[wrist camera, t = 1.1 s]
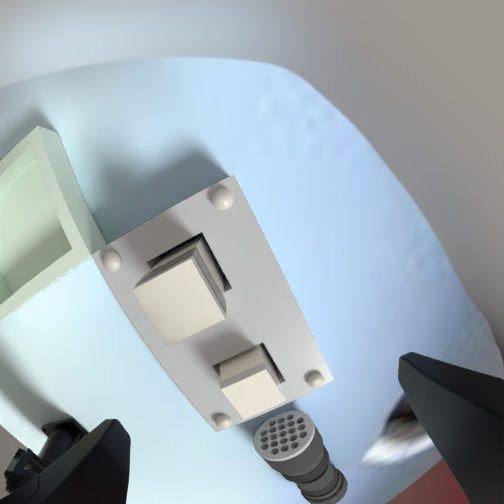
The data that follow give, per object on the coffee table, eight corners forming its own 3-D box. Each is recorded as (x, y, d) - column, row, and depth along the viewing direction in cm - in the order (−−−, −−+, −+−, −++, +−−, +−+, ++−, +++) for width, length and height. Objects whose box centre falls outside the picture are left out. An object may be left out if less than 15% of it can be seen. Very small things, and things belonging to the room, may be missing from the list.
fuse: (237, 374, 22) (243, 419, 16) (218, 346, 21) (220, 389, 16) (271, 358, 22) (286, 400, 16) (254, 329, 21) (266, 368, 16)
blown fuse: (185, 293, 20) (167, 347, 12) (163, 255, 19) (130, 290, 11) (223, 273, 20) (227, 319, 12) (202, 233, 19) (191, 256, 12)
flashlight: (342, 468, 26) (357, 498, 21) (303, 485, 26) (313, 516, 21) (303, 401, 23) (321, 442, 18) (250, 424, 23) (257, 467, 18)
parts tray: (17, 310, 18) (-2, 322, 15) (-24, 213, 16) (-45, 216, 13) (108, 247, 19) (90, 255, 16) (58, 133, 17) (37, 125, 14)
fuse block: (215, 408, 22) (216, 435, 19) (108, 247, 19) (88, 256, 15) (321, 360, 22) (335, 382, 19) (231, 178, 19) (233, 173, 16)
